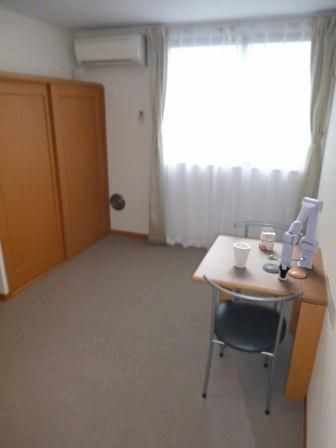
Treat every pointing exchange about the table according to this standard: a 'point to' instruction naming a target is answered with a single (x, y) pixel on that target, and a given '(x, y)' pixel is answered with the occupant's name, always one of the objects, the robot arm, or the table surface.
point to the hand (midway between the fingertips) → (282, 275)
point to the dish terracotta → (297, 273)
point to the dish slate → (271, 268)
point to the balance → (291, 260)
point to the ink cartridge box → (267, 239)
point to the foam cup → (241, 254)
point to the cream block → (282, 278)
